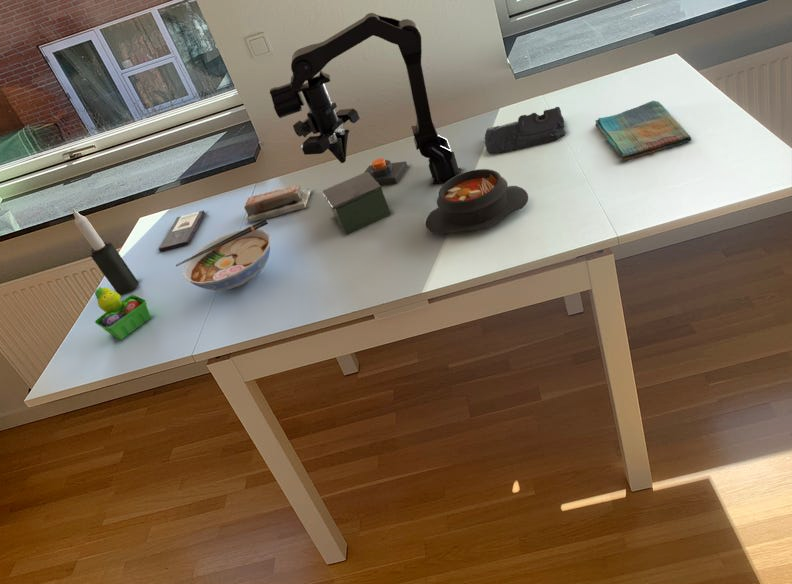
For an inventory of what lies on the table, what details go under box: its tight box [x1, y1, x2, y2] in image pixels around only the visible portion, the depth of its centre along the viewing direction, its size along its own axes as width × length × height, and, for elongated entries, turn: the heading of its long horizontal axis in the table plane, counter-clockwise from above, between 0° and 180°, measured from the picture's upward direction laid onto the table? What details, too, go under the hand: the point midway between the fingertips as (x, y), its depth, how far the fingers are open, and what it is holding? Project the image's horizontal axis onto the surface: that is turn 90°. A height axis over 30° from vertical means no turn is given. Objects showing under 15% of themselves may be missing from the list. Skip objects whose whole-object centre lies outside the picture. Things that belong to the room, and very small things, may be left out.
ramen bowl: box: [176, 218, 271, 292], centre depth 174 cm, size 25×23×8 cm
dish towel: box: [594, 100, 692, 162], centre depth 174 cm, size 17×23×2 cm
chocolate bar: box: [158, 210, 206, 252], centre depth 208 cm, size 9×1×18 cm
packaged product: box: [243, 184, 312, 223], centre depth 200 cm, size 18×5×10 cm
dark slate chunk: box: [484, 106, 566, 155], centre depth 191 cm, size 15×22×5 cm
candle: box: [71, 207, 139, 296], centre depth 182 cm, size 5×5×25 cm
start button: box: [371, 157, 386, 170], centre depth 196 cm, size 4×4×2 cm
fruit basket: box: [94, 286, 152, 341], centre depth 170 cm, size 11×9×11 cm
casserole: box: [425, 168, 529, 235], centre depth 164 cm, size 25×19×8 cm
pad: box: [363, 159, 409, 186], centre depth 197 cm, size 12×9×4 cm
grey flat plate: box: [321, 171, 382, 210], centre depth 179 cm, size 13×12×1 cm
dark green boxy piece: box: [328, 188, 392, 235], centre depth 181 cm, size 13×12×7 cm
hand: (343, 162), depth 180 cm, fingers closed
